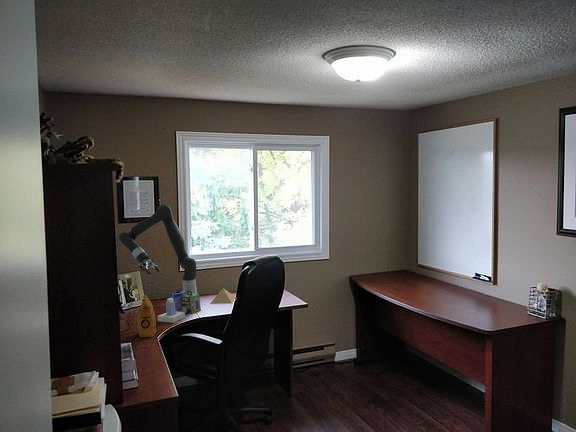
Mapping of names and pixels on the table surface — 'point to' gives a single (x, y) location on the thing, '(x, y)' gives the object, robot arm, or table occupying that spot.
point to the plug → (170, 307)
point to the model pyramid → (223, 298)
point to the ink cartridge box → (177, 299)
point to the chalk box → (190, 303)
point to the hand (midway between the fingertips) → (155, 272)
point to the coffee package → (146, 319)
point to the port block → (171, 317)
